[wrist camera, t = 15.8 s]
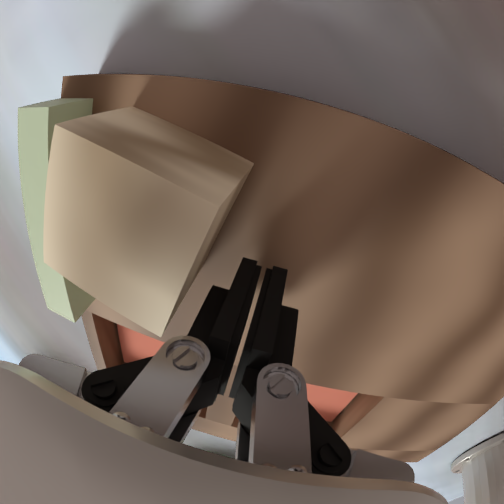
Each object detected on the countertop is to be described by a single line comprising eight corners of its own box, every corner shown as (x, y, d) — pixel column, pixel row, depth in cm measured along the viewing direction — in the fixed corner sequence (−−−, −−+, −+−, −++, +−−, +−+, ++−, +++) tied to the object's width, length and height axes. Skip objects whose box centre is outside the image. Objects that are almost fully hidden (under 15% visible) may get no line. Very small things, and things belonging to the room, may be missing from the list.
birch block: (254, 163, 10) (219, 207, 6) (200, 269, 12) (160, 337, 9) (133, 106, 9) (55, 124, 6) (103, 214, 12) (43, 262, 8)
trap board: (582, 243, 9) (621, 287, 5) (415, 441, 22) (418, 482, 18) (97, 73, 11) (19, 82, 7) (118, 373, 24) (94, 415, 19)
